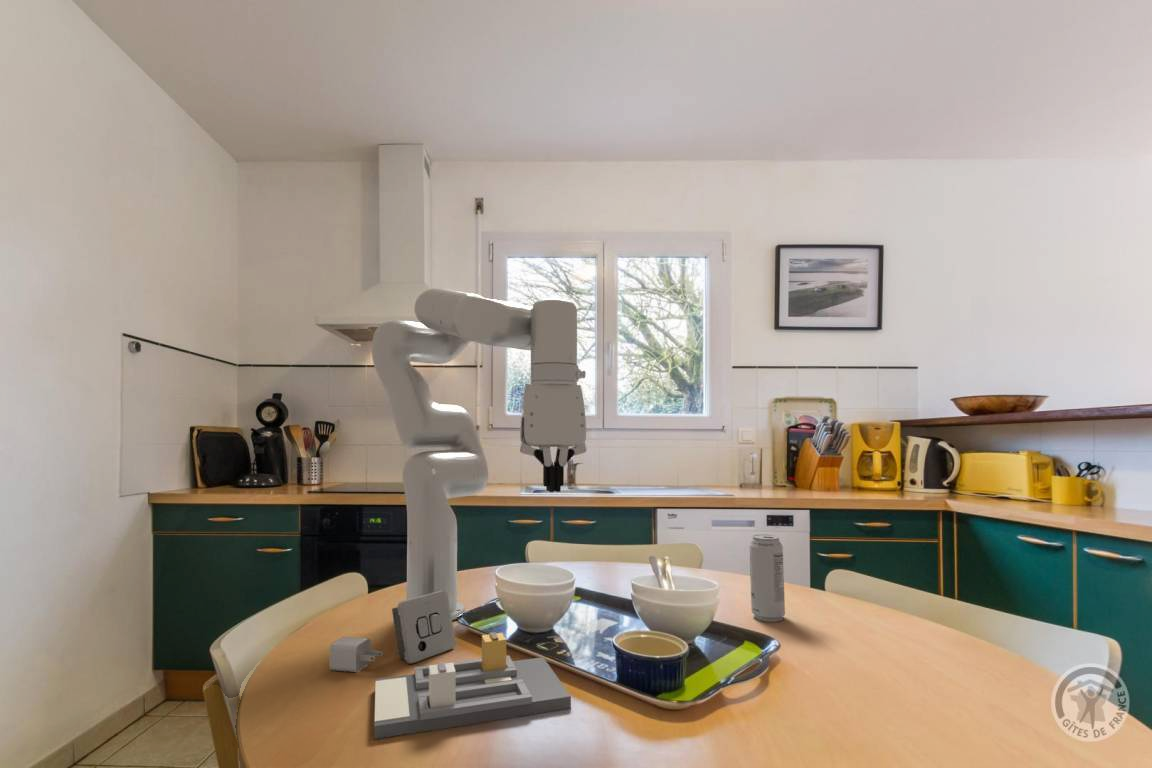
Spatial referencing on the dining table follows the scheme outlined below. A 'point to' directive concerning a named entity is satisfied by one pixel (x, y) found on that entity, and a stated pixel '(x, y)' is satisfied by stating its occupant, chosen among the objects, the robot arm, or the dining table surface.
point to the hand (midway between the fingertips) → (553, 490)
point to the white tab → (442, 685)
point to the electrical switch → (423, 626)
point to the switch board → (468, 697)
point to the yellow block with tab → (493, 651)
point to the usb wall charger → (351, 654)
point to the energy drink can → (767, 578)
